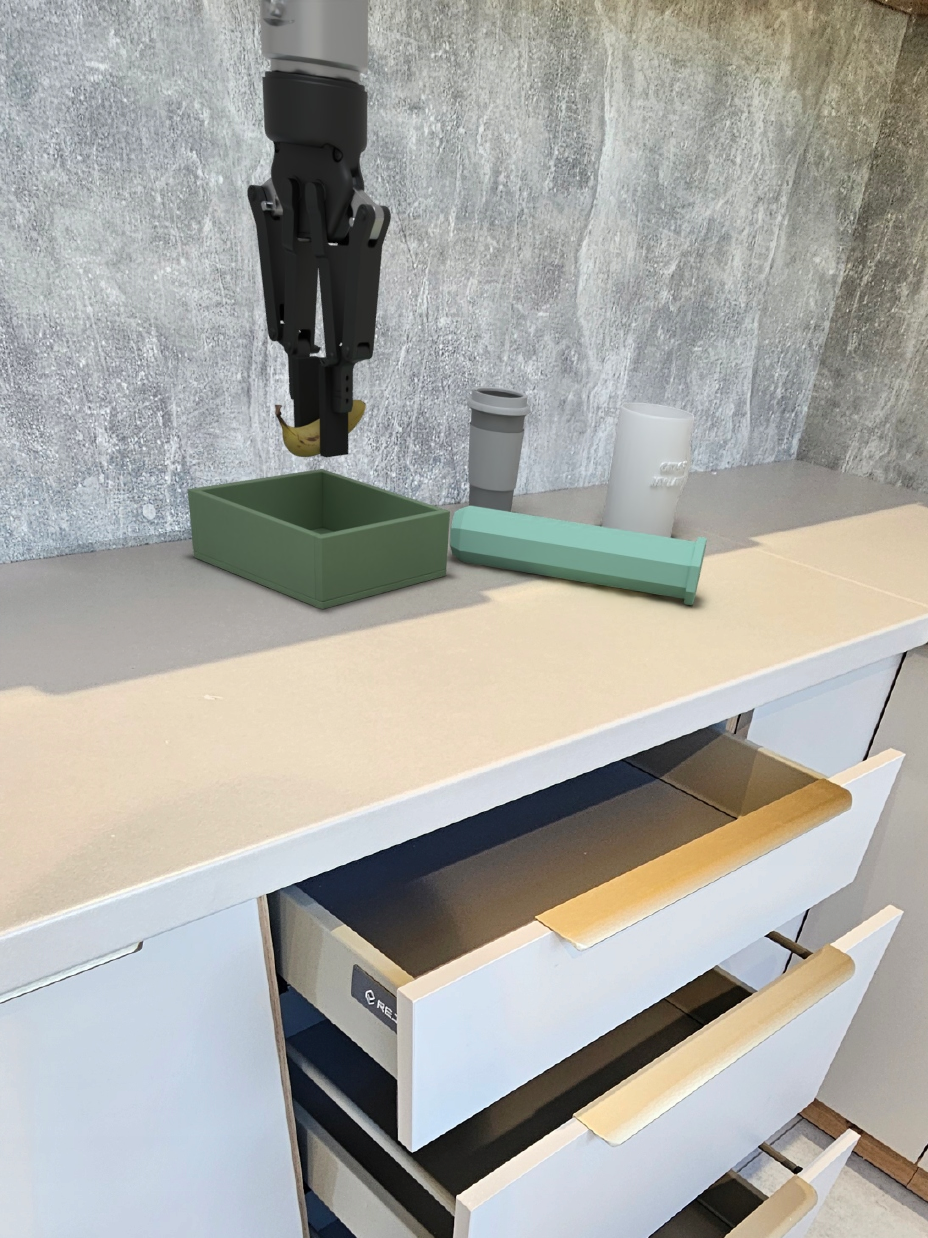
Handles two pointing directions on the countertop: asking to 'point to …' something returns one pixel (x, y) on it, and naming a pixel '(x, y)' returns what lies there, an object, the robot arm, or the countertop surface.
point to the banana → (313, 432)
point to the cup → (495, 445)
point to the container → (578, 551)
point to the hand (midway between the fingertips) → (321, 450)
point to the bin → (319, 535)
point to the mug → (648, 468)
